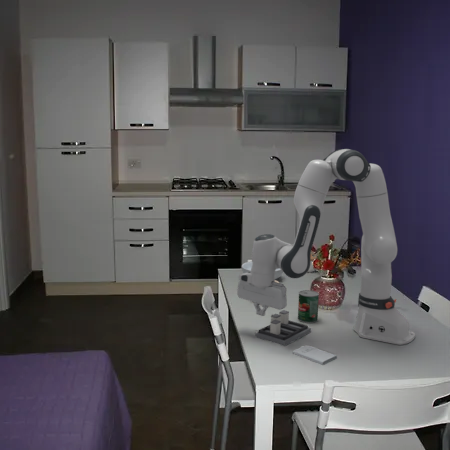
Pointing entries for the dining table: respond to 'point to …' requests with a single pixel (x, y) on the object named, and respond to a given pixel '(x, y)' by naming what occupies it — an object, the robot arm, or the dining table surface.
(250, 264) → the serving bowl
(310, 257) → the lidded jar
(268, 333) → the panel
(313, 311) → the canned tomato
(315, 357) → the external hard drive
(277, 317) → the block
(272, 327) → the block
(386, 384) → the dining table surface
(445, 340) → the dining table surface
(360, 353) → the dining table surface
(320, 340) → the dining table surface
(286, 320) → the breaker near
